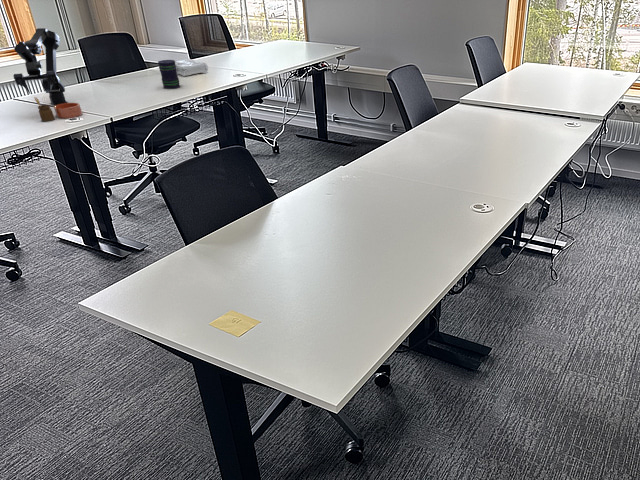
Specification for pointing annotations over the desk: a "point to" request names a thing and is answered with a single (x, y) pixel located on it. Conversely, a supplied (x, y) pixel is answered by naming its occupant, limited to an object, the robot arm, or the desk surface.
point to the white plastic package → (190, 67)
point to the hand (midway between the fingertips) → (39, 92)
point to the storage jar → (169, 74)
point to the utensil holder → (45, 111)
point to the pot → (68, 110)
